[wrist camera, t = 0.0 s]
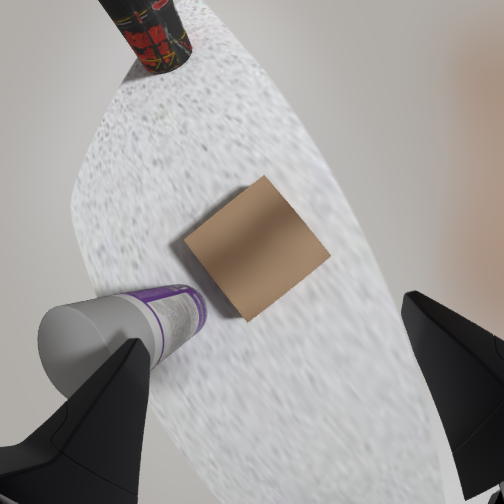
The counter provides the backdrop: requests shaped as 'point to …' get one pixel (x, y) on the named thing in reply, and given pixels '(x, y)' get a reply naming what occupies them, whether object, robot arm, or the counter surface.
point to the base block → (256, 248)
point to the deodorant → (151, 32)
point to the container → (116, 330)
